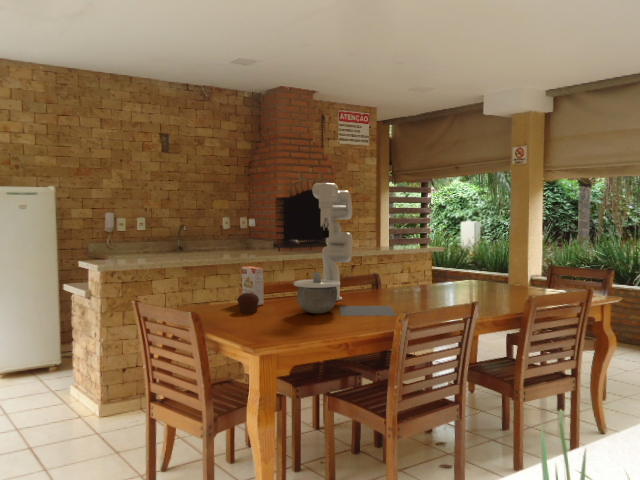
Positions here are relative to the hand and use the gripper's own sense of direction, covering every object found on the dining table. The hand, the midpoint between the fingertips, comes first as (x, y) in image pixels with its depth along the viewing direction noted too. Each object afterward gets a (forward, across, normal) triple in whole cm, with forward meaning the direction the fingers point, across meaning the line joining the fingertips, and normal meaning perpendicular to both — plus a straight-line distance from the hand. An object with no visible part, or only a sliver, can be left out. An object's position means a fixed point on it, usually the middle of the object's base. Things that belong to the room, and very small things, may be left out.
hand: (325, 237), depth 324 cm
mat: (+38, +16, +21) cm, 46 cm away
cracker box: (+38, -9, -41) cm, 57 cm away
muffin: (+38, +16, -41) cm, 58 cm away
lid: (+23, +20, -5) cm, 31 cm away
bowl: (+38, +20, -5) cm, 44 cm away
